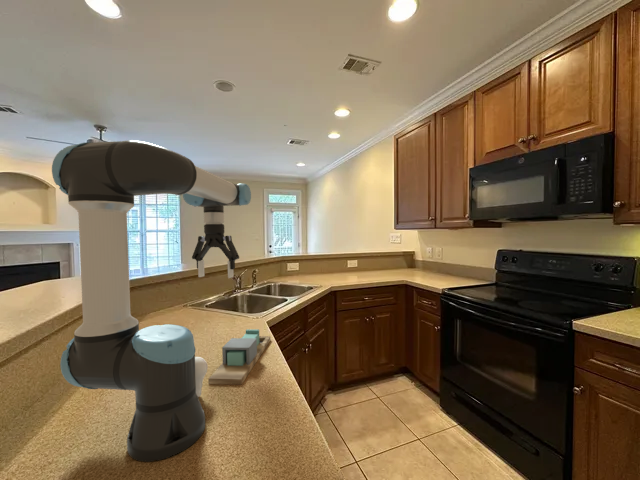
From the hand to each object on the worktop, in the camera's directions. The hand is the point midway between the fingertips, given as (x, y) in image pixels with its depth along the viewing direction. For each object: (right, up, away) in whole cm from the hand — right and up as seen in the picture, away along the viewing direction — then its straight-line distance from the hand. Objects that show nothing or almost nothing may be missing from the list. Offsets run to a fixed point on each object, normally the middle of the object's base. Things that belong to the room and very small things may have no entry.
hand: (215, 277), depth 113 cm
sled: (+15, -25, -12) cm, 32 cm away
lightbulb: (+8, -28, -36) cm, 46 cm away
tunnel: (+14, -26, -16) cm, 34 cm away
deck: (+15, -27, -12) cm, 33 cm away
